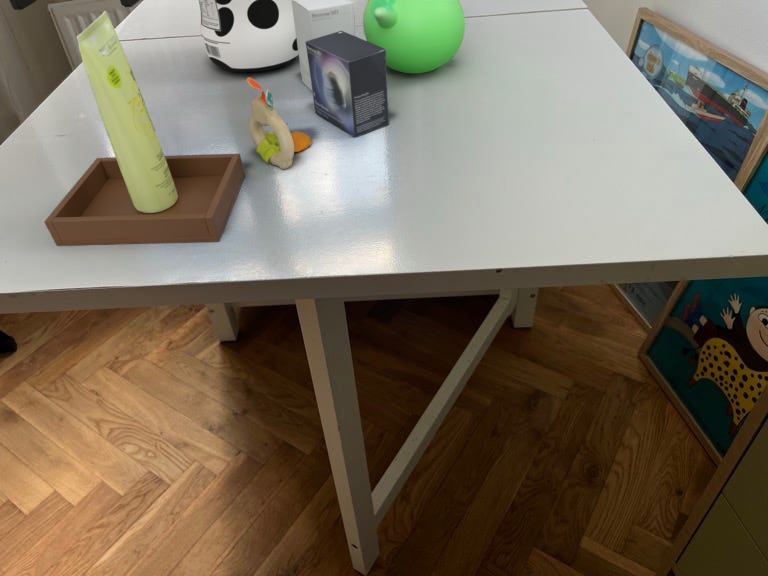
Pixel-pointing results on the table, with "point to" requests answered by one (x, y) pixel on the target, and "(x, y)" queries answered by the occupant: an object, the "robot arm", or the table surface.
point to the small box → (349, 82)
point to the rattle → (276, 144)
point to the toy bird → (415, 32)
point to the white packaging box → (319, 25)
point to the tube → (126, 118)
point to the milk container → (248, 33)
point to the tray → (129, 226)
